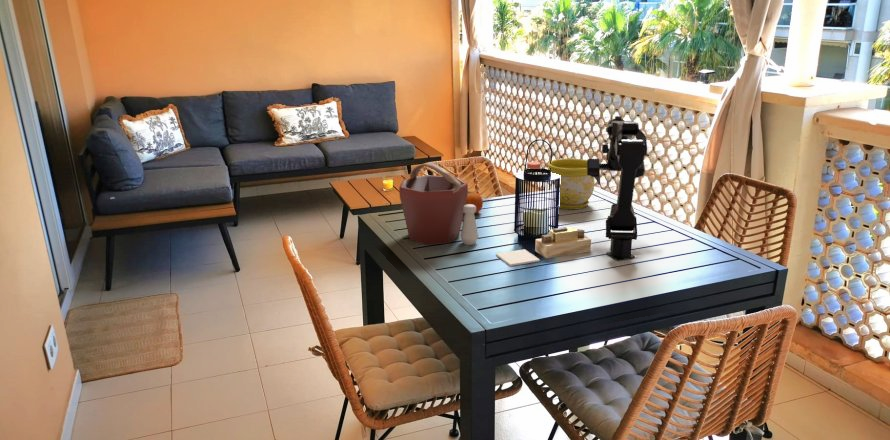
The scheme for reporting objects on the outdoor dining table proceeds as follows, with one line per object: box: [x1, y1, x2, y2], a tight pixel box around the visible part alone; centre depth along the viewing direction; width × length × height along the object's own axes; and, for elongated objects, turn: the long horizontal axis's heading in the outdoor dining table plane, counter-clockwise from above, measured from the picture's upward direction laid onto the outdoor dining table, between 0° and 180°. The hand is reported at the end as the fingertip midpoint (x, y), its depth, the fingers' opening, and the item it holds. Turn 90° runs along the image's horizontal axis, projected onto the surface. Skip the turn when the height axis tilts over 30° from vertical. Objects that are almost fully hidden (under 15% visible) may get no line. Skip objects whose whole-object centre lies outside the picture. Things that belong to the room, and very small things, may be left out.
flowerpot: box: [547, 158, 595, 210], centre depth 267 cm, size 18×18×16 cm
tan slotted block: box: [548, 226, 578, 243], centre depth 218 cm, size 4×8×4 cm, turn 111°
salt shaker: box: [460, 204, 479, 246], centre depth 227 cm, size 6×6×13 cm
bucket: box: [398, 162, 469, 246], centre depth 232 cm, size 24×22×25 cm
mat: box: [495, 248, 541, 267], centre depth 215 cm, size 10×10×1 cm
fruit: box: [463, 190, 484, 215], centre depth 260 cm, size 11×10×8 cm
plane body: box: [534, 228, 592, 259], centre depth 219 cm, size 7×16×6 cm, turn 111°
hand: (612, 184), depth 240 cm, fingers open, 9 cm apart
